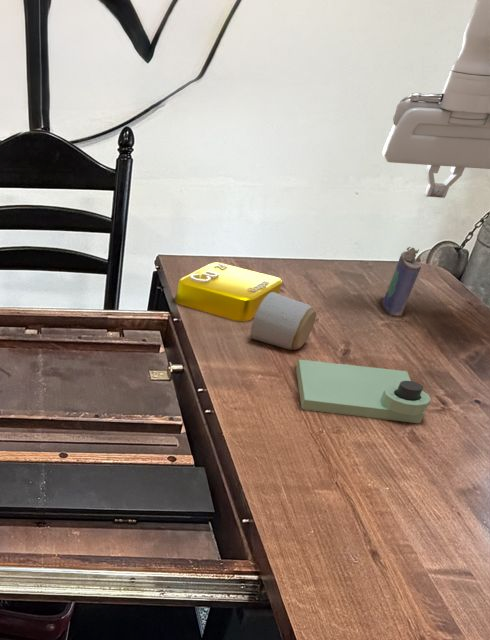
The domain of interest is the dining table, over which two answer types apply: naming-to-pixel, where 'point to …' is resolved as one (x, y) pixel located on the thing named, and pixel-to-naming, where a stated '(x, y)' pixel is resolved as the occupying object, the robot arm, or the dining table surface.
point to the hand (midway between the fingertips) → (434, 196)
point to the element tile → (226, 291)
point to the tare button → (409, 390)
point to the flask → (401, 283)
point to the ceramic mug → (283, 322)
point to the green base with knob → (357, 391)
